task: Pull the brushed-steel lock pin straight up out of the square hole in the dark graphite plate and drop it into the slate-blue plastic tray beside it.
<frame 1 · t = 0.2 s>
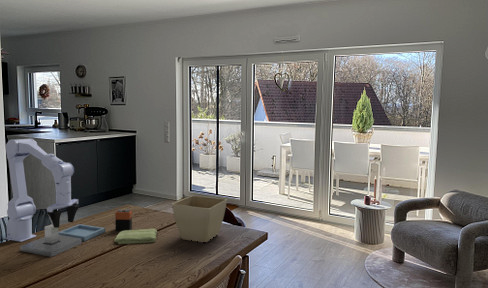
hand: (63, 224, 153), 10 cm above the table, tool pointing down, fingers open, 7 cm apart
tray: (82, 234, 169), on the table
flower pot: (199, 237, 170), on the table
lock pin: (52, 247, 153), resting in pin plate
battery: (123, 230, 177), on the table
washcloth: (136, 240, 166), on the table
pin plate: (52, 246, 153), on the table
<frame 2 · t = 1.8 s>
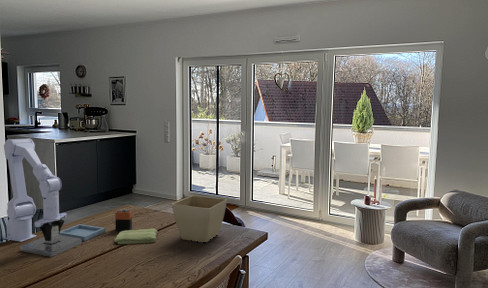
hand: (51, 239, 153), 3 cm above the table, tool pointing down, fingers closed on lock pin, 4 cm apart
lock pin: (52, 247, 153), resting in pin plate, touching gripper
everything else where it was.
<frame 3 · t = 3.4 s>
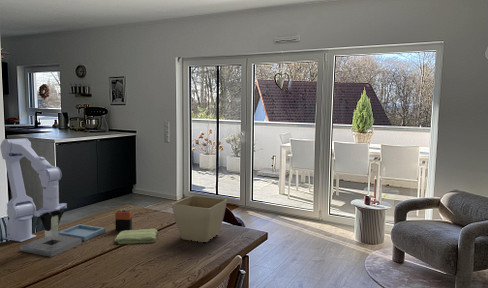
hand: (51, 229, 153), 8 cm above the table, tool pointing down, fingers closed on lock pin, 4 cm apart
lock pin: (51, 237, 153), point 4 cm above the table, touching gripper
everything else where it was.
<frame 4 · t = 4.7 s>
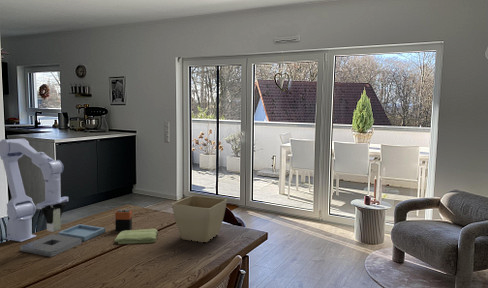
hand: (53, 221, 153), 10 cm above the table, tool pointing down, fingers closed on lock pin, 4 cm apart
lock pin: (53, 229, 154), point 7 cm above the table, touching gripper
everything else where it was.
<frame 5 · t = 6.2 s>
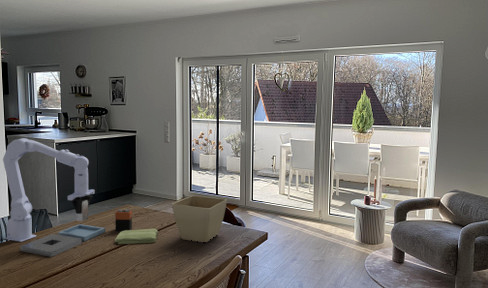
hand: (81, 212, 168), 10 cm above the table, tool pointing down, fingers closed on lock pin, 4 cm apart
lock pin: (82, 219, 169), point 7 cm above the table, touching gripper
everything else where it was.
when the fingers open (5 cm above the table, at t = 7.7 s): lock pin drops 1 cm, resting on tray.
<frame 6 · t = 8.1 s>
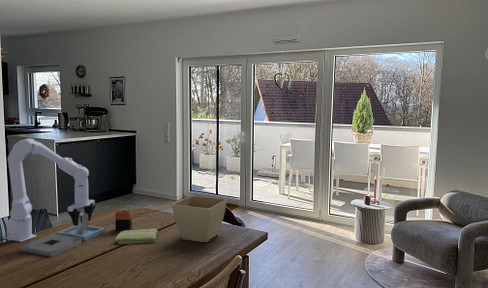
hand: (82, 222, 169), 5 cm above the table, tool pointing down, fingers open, 7 cm apart
lock pin: (82, 233, 169), point 1 cm above the table, touching tray
everything else where it was.
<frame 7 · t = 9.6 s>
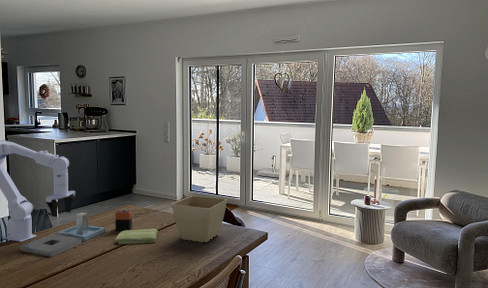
hand: (61, 214, 165), 10 cm above the table, tool pointing down, fingers open, 7 cm apart
nothing on the table moved.
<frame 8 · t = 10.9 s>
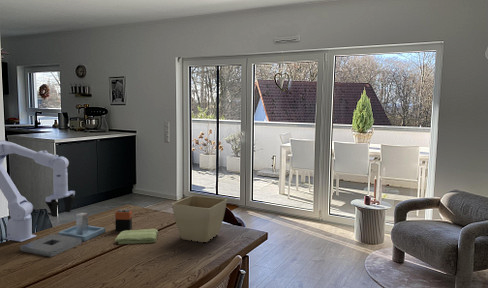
hand: (61, 214, 165), 10 cm above the table, tool pointing down, fingers open, 7 cm apart
nothing on the table moved.
at the end: lock pin inside the target area on the tray (0.1 cm from its centre), point 0.6 cm above the tray's base; the gripper is holding nothing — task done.
